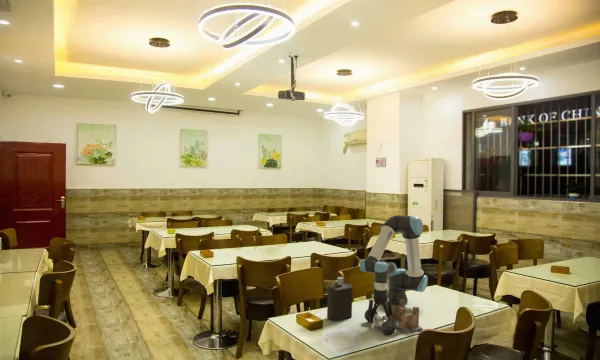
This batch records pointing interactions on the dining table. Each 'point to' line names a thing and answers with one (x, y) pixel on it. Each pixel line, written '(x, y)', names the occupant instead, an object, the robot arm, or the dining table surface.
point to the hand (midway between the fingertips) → (379, 327)
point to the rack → (404, 318)
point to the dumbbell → (382, 324)
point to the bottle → (339, 301)
